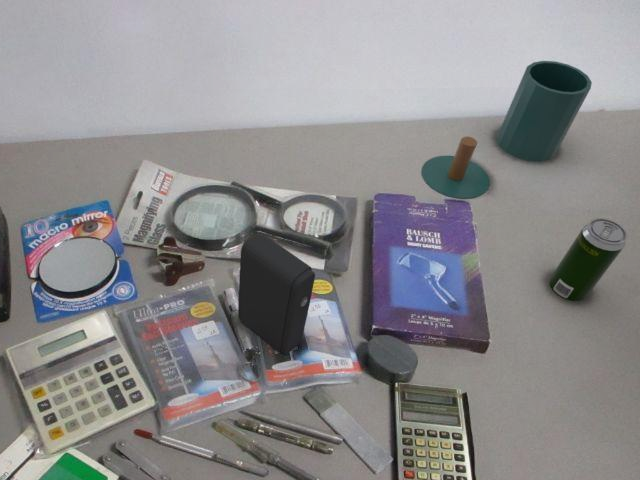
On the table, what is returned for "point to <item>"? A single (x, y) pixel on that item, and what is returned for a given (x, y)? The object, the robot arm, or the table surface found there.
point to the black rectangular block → (274, 292)
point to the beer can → (588, 259)
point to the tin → (543, 110)
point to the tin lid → (457, 173)
